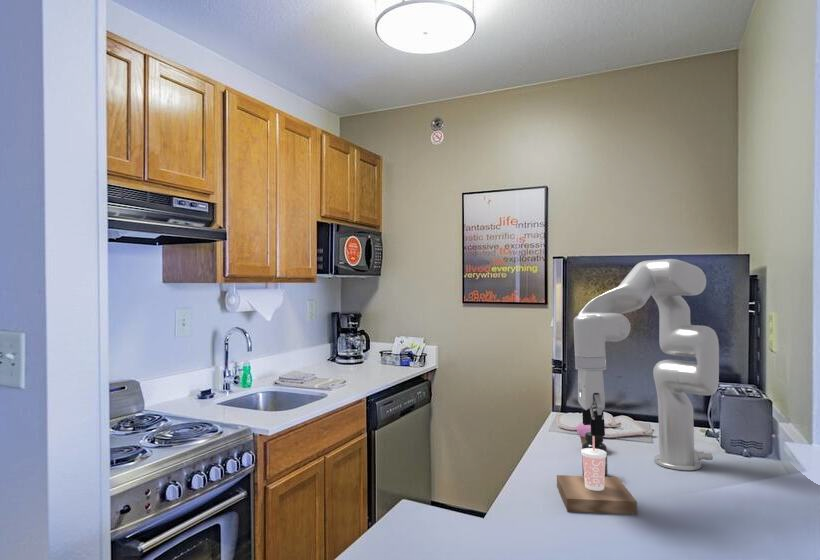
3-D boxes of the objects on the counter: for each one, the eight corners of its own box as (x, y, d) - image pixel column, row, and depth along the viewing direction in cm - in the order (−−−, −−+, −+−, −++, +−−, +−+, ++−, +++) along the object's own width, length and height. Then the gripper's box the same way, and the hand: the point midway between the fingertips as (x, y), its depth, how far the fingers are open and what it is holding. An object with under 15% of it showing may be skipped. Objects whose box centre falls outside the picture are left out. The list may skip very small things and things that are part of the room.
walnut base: (618, 488, 132) (618, 477, 133) (637, 514, 117) (636, 501, 117) (556, 486, 135) (556, 475, 135) (567, 511, 119) (566, 498, 119)
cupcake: (609, 454, 161) (608, 423, 161) (582, 455, 161) (581, 424, 161) (599, 446, 169) (598, 417, 170) (573, 447, 170) (572, 417, 170)
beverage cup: (581, 489, 124) (579, 433, 125) (582, 481, 130) (581, 427, 130) (607, 493, 122) (606, 435, 122) (607, 484, 127) (606, 429, 128)
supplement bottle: (610, 481, 138) (608, 437, 138) (584, 479, 139) (583, 436, 140) (605, 472, 145) (604, 431, 145) (580, 471, 146) (579, 430, 146)
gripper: (569, 358, 136) (572, 421, 136) (582, 368, 119) (585, 440, 119) (597, 358, 135) (600, 421, 135) (614, 368, 118) (618, 440, 118)
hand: (593, 429), depth 127 cm, fingers open, 9 cm apart
